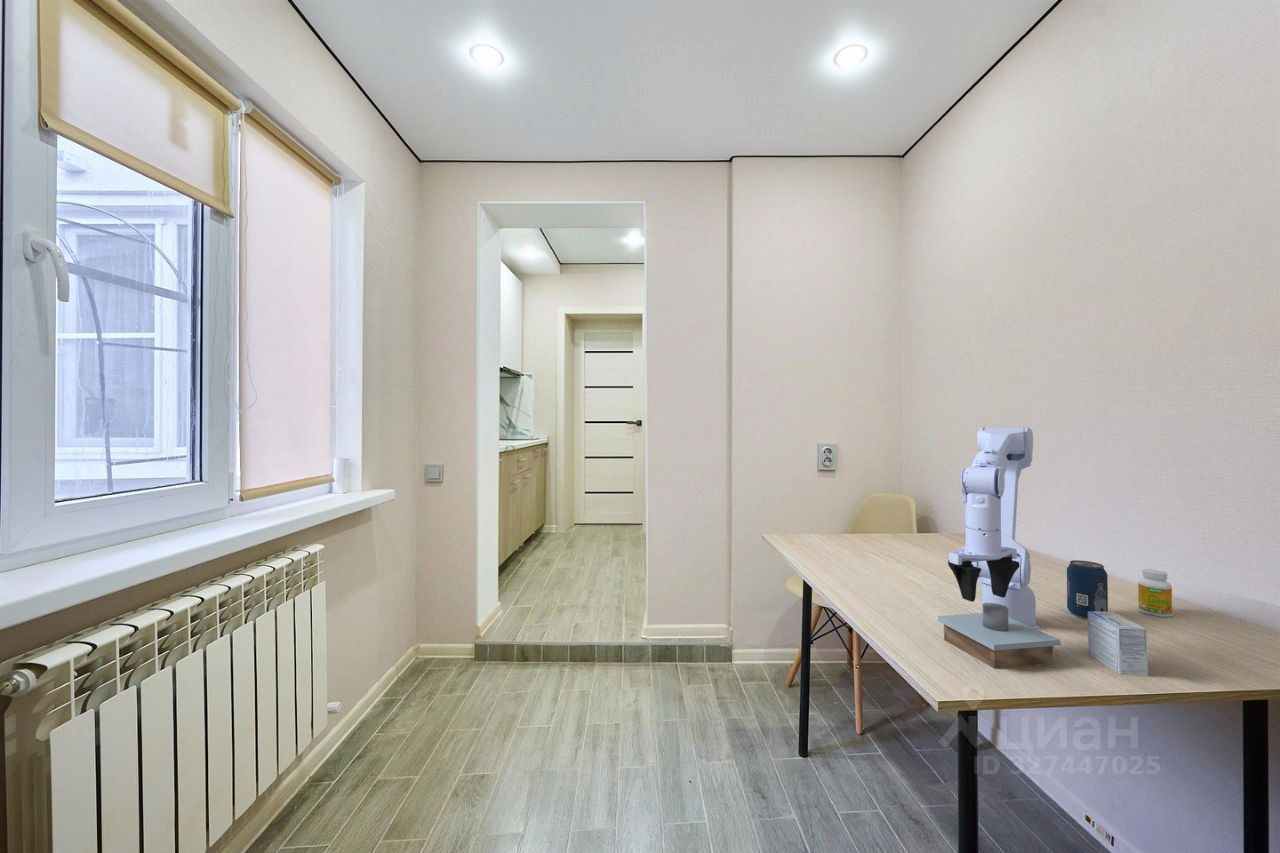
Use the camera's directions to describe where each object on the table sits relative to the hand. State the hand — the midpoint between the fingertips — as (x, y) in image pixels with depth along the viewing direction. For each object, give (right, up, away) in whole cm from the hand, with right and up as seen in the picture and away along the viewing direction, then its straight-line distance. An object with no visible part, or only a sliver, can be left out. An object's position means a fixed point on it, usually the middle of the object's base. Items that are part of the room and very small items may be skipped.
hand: (983, 597), depth 95 cm
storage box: (+2, -10, -1) cm, 10 cm away
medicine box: (+20, -10, -7) cm, 23 cm away
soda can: (+36, -10, +17) cm, 41 cm away
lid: (+2, -6, -1) cm, 7 cm away
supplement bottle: (+52, -10, +18) cm, 56 cm away
